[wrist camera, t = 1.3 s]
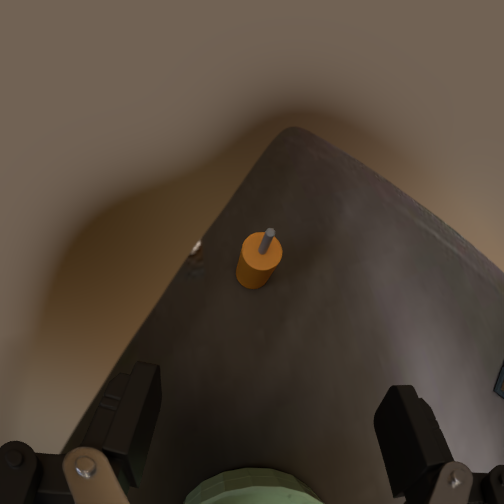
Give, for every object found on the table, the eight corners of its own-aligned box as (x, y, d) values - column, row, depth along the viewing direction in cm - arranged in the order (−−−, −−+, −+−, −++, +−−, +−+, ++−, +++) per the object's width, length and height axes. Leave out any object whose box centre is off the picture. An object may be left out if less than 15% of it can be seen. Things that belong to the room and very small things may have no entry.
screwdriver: (239, 291, 33) (252, 258, 23) (232, 260, 34) (242, 214, 24) (271, 285, 34) (298, 250, 23) (264, 255, 35) (287, 208, 24)
